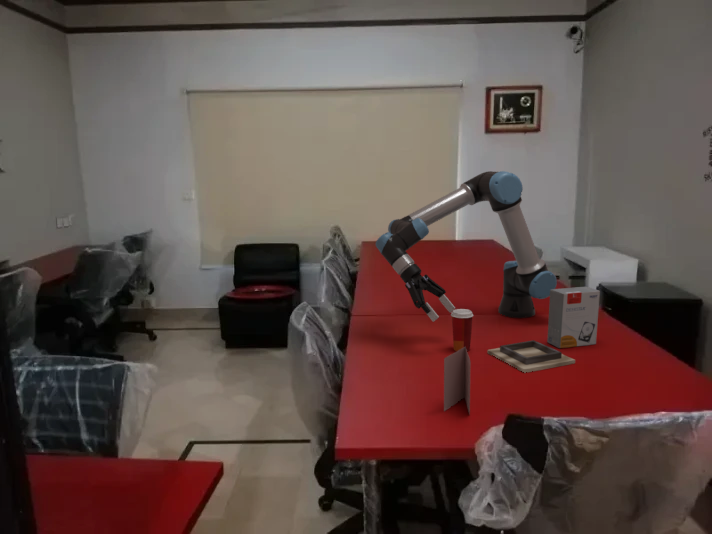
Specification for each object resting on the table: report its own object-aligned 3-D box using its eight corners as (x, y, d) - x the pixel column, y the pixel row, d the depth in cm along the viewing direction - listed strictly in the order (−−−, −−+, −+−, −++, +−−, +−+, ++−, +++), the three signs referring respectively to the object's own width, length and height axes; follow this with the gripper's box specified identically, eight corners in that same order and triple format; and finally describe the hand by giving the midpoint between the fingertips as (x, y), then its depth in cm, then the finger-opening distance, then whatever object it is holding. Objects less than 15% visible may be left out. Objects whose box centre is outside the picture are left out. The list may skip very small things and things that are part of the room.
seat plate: (487, 353, 192) (487, 344, 191) (534, 345, 199) (535, 336, 198) (524, 373, 174) (524, 363, 173) (575, 363, 181) (575, 354, 180)
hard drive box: (559, 349, 194) (561, 293, 190) (546, 342, 201) (548, 289, 198) (597, 344, 198) (600, 290, 194) (583, 338, 205) (586, 285, 202)
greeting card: (461, 396, 158) (462, 346, 155) (485, 403, 153) (486, 351, 150) (441, 410, 149) (441, 357, 146) (465, 418, 145) (466, 363, 142)
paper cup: (469, 345, 200) (470, 308, 198) (475, 352, 193) (475, 314, 190) (448, 346, 200) (448, 308, 197) (452, 353, 192) (453, 314, 190)
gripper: (417, 269, 214) (452, 312, 209) (383, 282, 194) (421, 329, 189) (429, 257, 210) (465, 300, 205) (396, 268, 190) (435, 317, 185)
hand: (444, 314), depth 197 cm, fingers open, 13 cm apart
